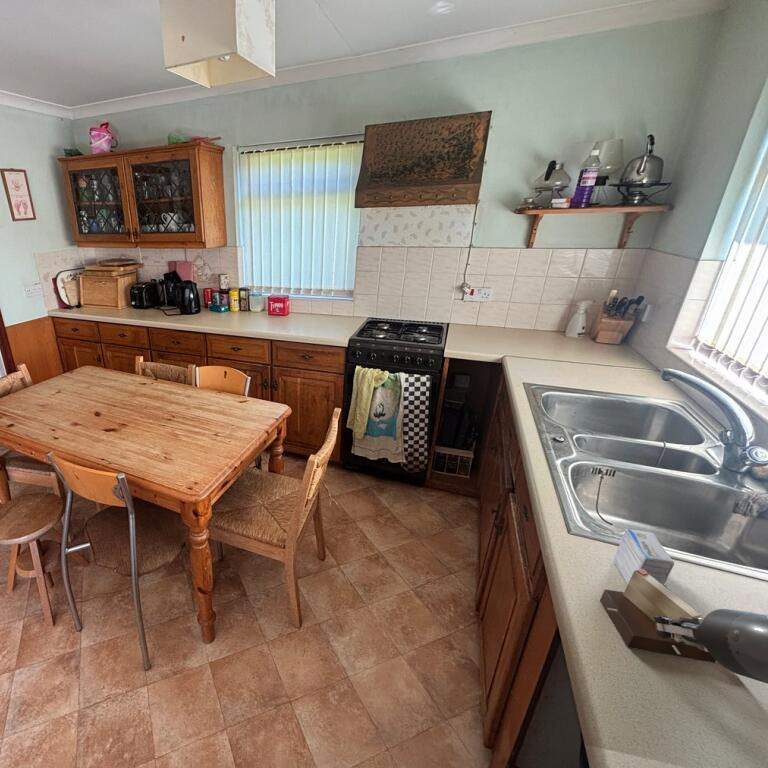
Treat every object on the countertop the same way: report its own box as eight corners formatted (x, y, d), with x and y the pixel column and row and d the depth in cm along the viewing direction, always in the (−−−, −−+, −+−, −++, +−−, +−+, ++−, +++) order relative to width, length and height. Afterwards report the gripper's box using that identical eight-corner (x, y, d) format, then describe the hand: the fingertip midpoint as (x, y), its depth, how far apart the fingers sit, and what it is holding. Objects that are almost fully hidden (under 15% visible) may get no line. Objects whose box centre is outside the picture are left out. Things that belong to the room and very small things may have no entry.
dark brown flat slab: (668, 602, 76) (675, 590, 74) (725, 676, 64) (734, 663, 63) (584, 589, 79) (589, 577, 77) (623, 657, 67) (629, 645, 66)
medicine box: (658, 598, 76) (676, 563, 73) (629, 591, 78) (645, 557, 74) (638, 565, 83) (653, 532, 80) (611, 560, 85) (625, 527, 81)
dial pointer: (686, 640, 66) (702, 614, 64) (677, 642, 66) (693, 615, 63) (630, 593, 74) (642, 567, 72) (622, 594, 74) (634, 569, 71)
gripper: (708, 673, 49) (617, 642, 65) (852, 700, 46) (720, 661, 62) (694, 603, 51) (610, 590, 67) (830, 624, 48) (708, 605, 64)
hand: (663, 624), depth 64 cm, fingers closed
